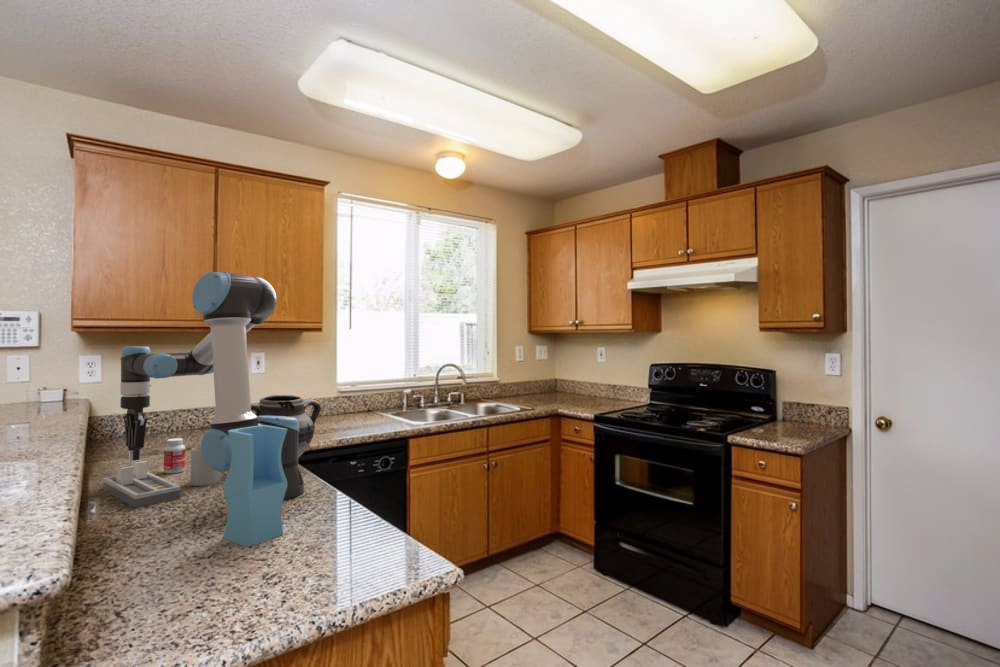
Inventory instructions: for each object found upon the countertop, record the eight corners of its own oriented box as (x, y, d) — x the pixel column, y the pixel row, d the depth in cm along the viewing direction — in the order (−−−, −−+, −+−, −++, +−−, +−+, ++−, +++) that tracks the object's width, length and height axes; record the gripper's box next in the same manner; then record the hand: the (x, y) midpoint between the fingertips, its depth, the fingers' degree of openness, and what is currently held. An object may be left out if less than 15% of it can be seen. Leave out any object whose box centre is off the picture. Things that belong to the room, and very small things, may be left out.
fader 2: (147, 477, 157) (147, 460, 157) (135, 479, 155) (136, 462, 155) (142, 475, 160) (142, 458, 160) (131, 477, 157) (131, 460, 157)
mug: (219, 484, 160) (219, 449, 160) (187, 487, 157) (188, 451, 157) (224, 474, 171) (224, 442, 171) (194, 477, 168) (195, 444, 168)
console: (180, 498, 146) (180, 486, 146) (135, 508, 137) (135, 495, 137) (144, 481, 162) (145, 470, 163) (102, 489, 154) (102, 478, 154)
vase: (247, 547, 113) (248, 435, 113) (222, 537, 118) (224, 430, 118) (286, 533, 121) (288, 428, 121) (261, 524, 126) (263, 424, 127)
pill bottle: (172, 474, 170) (173, 441, 170) (159, 473, 172) (159, 440, 172) (189, 470, 176) (189, 438, 176) (175, 468, 178) (176, 437, 178)
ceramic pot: (309, 454, 202) (310, 391, 202) (330, 466, 184) (331, 397, 184) (229, 465, 184) (230, 396, 184) (244, 479, 166) (245, 402, 166)
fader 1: (133, 483, 151) (133, 466, 151) (120, 485, 149) (121, 468, 149) (128, 481, 153) (128, 464, 153) (116, 483, 151) (116, 465, 151)
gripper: (157, 395, 159) (156, 470, 159) (141, 392, 167) (140, 464, 167) (128, 397, 153) (127, 476, 153) (114, 394, 161) (113, 469, 161)
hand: (134, 469), depth 160 cm, fingers closed
